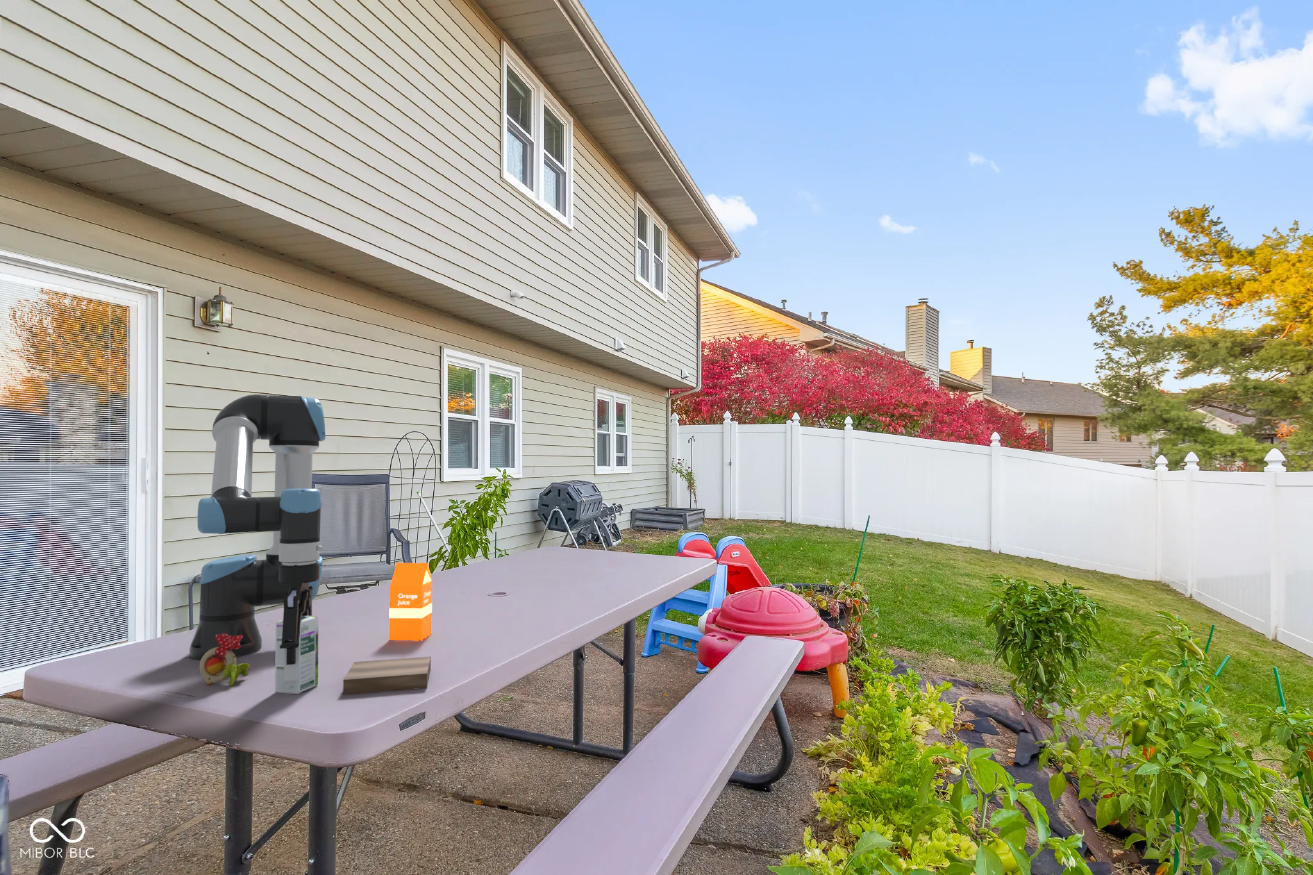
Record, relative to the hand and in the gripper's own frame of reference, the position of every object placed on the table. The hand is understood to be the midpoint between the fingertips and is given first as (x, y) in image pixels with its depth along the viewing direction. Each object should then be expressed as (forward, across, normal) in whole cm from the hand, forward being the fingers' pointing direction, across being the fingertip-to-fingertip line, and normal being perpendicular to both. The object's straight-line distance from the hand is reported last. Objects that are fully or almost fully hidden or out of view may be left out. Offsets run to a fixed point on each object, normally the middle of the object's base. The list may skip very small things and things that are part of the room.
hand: (296, 673), depth 138 cm
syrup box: (+3, 0, 0) cm, 3 cm away
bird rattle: (+3, +8, +16) cm, 18 cm away
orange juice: (+3, +39, -19) cm, 44 cm away
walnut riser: (+3, 0, -18) cm, 18 cm away
